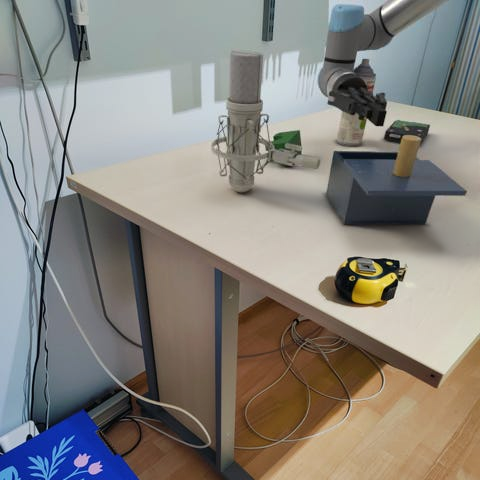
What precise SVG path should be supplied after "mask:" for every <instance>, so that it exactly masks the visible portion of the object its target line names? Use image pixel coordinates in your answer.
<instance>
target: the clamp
mask: <svg viewBox="0 0 480 480" xmlns="http://www.w3.org/2000/svg"><path fill="white" fill-rule="evenodd" d="M272 137H273V140H270V142H271V143H272V144H273V145H274V148H275V150H279V149H284V150H289V151H292V149H288V148H285V144H286V143H288V144H294V145H298V146H302V138H301V130H300V129H295V130H290V131H281V132H277V133H275V134H274V135H273V136H272ZM302 147H303V146H302ZM264 148H265V151H266V152H268V146H267V145H264ZM269 148H270V147H269ZM270 149H271V148H270ZM295 152H297V155H302V152H303V150H302V151H297V150H295ZM269 161H270V162H274V160H269ZM281 165H282V167H288V166H289V167H291V166H290V165H285V164H281Z"/></svg>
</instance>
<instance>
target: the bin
mask: <svg viewBox="0 0 480 480" xmlns="http://www.w3.org/2000/svg"><path fill="white" fill-rule="evenodd" d="M397 155H398V151H368V150H367V151H364V150H361V151H360V150H357V151H356V150H354V151H353V150H333V152H332V159H331V164H330V169H329V174H328V175H329V176H328V181H327V187H326V192H325V195H326V196H327V198H328V200H329V202H330V203H331V205H332V207H333V208H334V211H335V212H336V213H337V216H338V217H339V219H340V220H341V222H342V224H343V225H344V226H345V225H347V226H350V225H351V226H353V225H356V226H357V225H359V226H361V225H362V226H363V225H364V226H367V225H372V226H374V225H376V226H377V225H378V226H379V225H380V226H381V225H393V226H395V225H396V226H397V225H426V224H427V221H428V219H429V215H430V212H431V210H432V207H433V204H434V201H435V198H436V196H400V195H367V194H366V193H365V191H364V190H363V189H362V187H361V186H360V185H359V183H358V182H357V181H356V180H355V178H354V177H353V176H352V174H351V173H350V172H349V170H348V169H347V168H346V166H345V165H344V164H343V162H344V159H376V160H396V158H397ZM415 160H421V159H420V158H419V157H417V156H416V159H415Z"/></svg>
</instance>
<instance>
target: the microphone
mask: <svg viewBox="0 0 480 480" xmlns="http://www.w3.org/2000/svg"><path fill="white" fill-rule="evenodd" d="M263 61H264V54H263V53H262V52H259V51H253V50H234V49H233V50H231V51H230V53H229V90H228V91H229V93H228V94H229V95H228V96H229V97H228V98H226V101H225V102H226V103H225V105H226V106H225V109H226V111H227V115H226V114H221V115H218V124H219V125H218V130H217V133H216V134H215V136H217V138H215V139H214V140H212V142H211V148H210V149H211V153H212V154H214V156H217V159H218V163H219V168H220V169H219V176H220V177H227V176H228V184H229V186H230V187H231V188H232V190H234V191H235V192H237V193H246V192H248V191H249V190H251V188H252V187H253V186H254V185H255V174H257V175H263V174H264V168H265V167H266V166H267V165H268V164H269V163H270V162H271V161H270V160H274V161H273V162H274V163H277V164H281V165H282V164H285V165H290V166H289V167H292V166H299V167H302V168H307V169H312V170H315V171H316V170H317V171H318V169H319V167H320V165H321V159H320V158H317V157H312V156H307V155H302V154H301V155H297V152H295V150H297V151H302V152H303V146H298V145H294V144H288V143H286V144H285V148H288V149H292V151H289V150H284V149H279V150H275V148H274V145H273V144H272V143H271V142H270V141H271V140H270V133H269V125H268V123H269V121H270V120H269V119H270V115H269V114H268V113H262V112H263V109H264V107H263V106H264V101H263V99H261V94H262V93H261V92H262V78H263V65H264V64H263V63H264V62H263ZM262 117H266V118H263V122H262V124H261V121H262ZM221 118H226V124H225V125H224V119H222V120H221ZM264 124H266V129H267V130H266V131H267V137H268V139H264V138H263V136H261V130H262V127H263V126H264ZM223 125H224V127H223ZM220 128H221V129H220ZM225 128H226V134H225ZM221 132H222V134H223V136H221V137H220V135H221V134H220V133H221ZM222 143H225V145H226V150H225V152H223V151H221V150H220V144H222ZM260 144H262V145H264V146H265V145H267V146H268V151H267V152H266V153H262V154H261V152H260V149H261V148H260V146H261V145H260ZM215 146H216V148H215ZM269 147H270V148H271V149H270V148H269ZM220 158H222V159H223V165H224V167H223V168H222V165H221V159H220ZM265 159H266V162H265V163H263V164H261V161H262V160H265ZM256 161H257V164H256ZM227 166H228V167H229V168H228V170H227ZM255 166H256V170H255ZM224 171H225V173H224ZM228 171H229V175H228ZM222 173H224V174H222Z"/></svg>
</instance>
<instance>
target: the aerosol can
mask: <svg viewBox="0 0 480 480" xmlns="http://www.w3.org/2000/svg"><path fill="white" fill-rule="evenodd" d="M353 73H355V74H356V75H358V76H359V77H361V78H362V79H363V80H364V81H365V83H366V85H367V89H368V91H370V92H372V93H373V94H374V88H375V84H376V80H377V77H376V76H377V74H376V73H374V69H373V68H372V66H371V64H370V58H362V59H361V63H360V64H358V65H357V66H355V67H354V70H353ZM358 118H359V115H358V114H357V113H356V114H355V115H350V114H348V113H346V112H343V111H341V115H340V121H339V127H338V131H337V137H336V143H337V144H339V145H342V146H344V147H345V146H347V147H360V146H361V145H362V144H363V143H362V142H363V138H364V134H365V129H366V125H367V120H368V119H367V118H366V117H364V120H359V119H358Z"/></svg>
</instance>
